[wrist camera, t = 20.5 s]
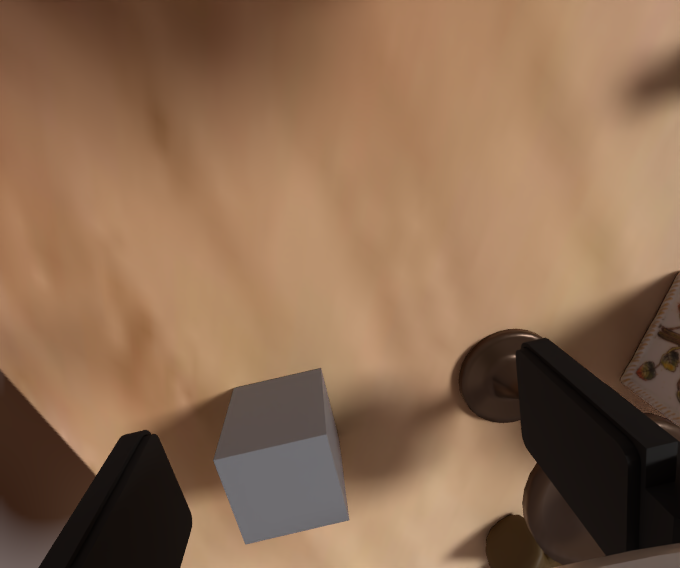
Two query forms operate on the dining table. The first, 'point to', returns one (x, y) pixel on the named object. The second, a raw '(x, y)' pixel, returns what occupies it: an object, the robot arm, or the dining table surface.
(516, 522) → the kendama
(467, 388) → the candlestick
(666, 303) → the decorative jar
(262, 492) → the matte gray cube
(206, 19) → the dining table surface
